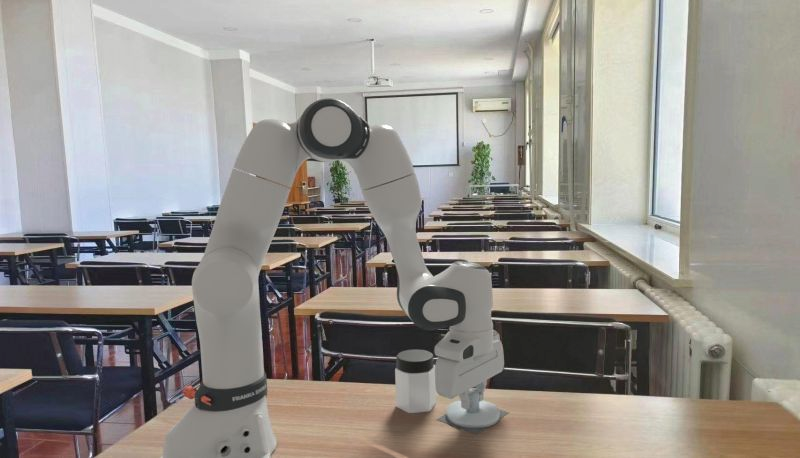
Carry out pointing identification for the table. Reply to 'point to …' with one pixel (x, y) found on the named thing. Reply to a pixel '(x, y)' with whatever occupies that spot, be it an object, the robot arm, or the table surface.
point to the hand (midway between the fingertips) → (472, 404)
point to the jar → (415, 381)
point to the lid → (473, 413)
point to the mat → (472, 430)
